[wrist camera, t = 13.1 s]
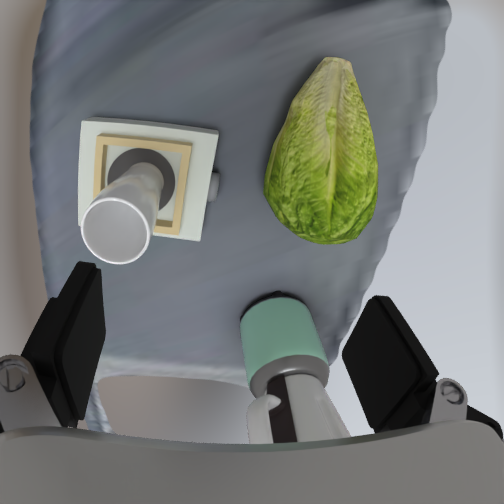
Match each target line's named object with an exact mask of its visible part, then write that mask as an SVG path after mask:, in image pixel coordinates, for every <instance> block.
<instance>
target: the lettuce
mask: <svg viewBox="0 0 504 504" xmlns="http://www.w3.org/2000/svg"><path fill="white" fill-rule="evenodd" d="M263 194H264V196H265V198H266V199H267V201H268V203H269V205H270V207H271V208H272V210H273V212H274V214H275V216H276V217H277V219H278V220H279V221H280V222H281V223H282V224H283V225H284V226H286V227H287V228H288V229H289V230H291V231H292V232H293V233H294V234H296V235H297V236H299V237H300V238H303V239H305V240H307V241H310V242H313V243H318V244H341V243H346V242H348V241H351V240H353V239H356V238H357V237H358V236H359V234H360V233H361V232H362V230H363V229H364V228H365V227H366V225H367V224H368V223H369V221H370V220H371V218H372V216H373V214H374V210H375V205H376V201H377V195H378V162H377V157H376V151H375V145H374V139H373V134H372V130H371V125H370V122H369V118H368V114H367V111H366V108H365V105H364V102H363V99H362V96H361V93H360V90H359V88H358V85H357V82H356V79H355V76H354V73H353V69H352V65H351V63H350V62H349V61H347V60H344V59H341V58H338V57H325V58H324V59H323V60H322V62H321V63H320V64H319V65H318V66H317V68H316V69H315V70H314V72H313V73H312V74H311V76H310V77H309V78H308V80H307V81H306V82H305V83H304V85H303V86H302V88H301V89H300V90H299V92H298V93H297V95H296V96H295V98H294V99H293V100H292V103H291V106H290V109H289V112H288V115H287V118H286V121H285V123H284V125H283V127H282V129H281V131H280V132H279V134H278V136H277V138H276V140H275V142H274V144H273V147H272V151H271V154H270V158H269V162H268V165H267V169H266V173H265V179H264V190H263Z"/></svg>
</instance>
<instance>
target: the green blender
mask: <svg viewBox="0 0 504 504" xmlns="http://www.w3.org/2000/svg"><path fill="white" fill-rule="evenodd" d="M240 334H241V341H242V348H243V355H244V362H245V369H246V376H247V382H248V386H249V389H250V391H251V392H252V394H253V395H254V397H255V398H256V400H254V401H253V402H252V403H251V404H250V405H249V407H248V410H247V429H248V437H249V444H272V443H293V442H308V441H319V440H329V439H338V438H347V437H351V435H350V434H349V432H348V430H347V428H346V426H345V425H344V423H343V421H342V419H341V417H340V415H339V414H338V412H337V410H336V408H335V406H334V405H333V403H332V401H331V399H330V398H329V396H328V394H327V392H326V390H325V389H324V388H325V386H326V385H327V382H328V377H329V365H328V361H327V357H326V354H325V351H324V349H323V346H322V343H321V341H320V338H319V335H318V332H317V330H316V327H315V324H314V322H313V319H312V316H311V314H310V311H309V309H308V308H307V307H306V305H305V304H304V303H302V302H301V301H300V300H298V299H296V298H293V297H290V296H284V295H283V293H282V292H281V291H276V292H274V293H273V295H272V296H270V297H267V298H264V299H261V300H259V301H258V302H256V303H254V304H252V305H251V306H250V307H249V308H248V309H247V310H246V312H245V313H244V315H243V316H241V318H240Z"/></svg>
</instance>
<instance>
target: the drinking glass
mask: <svg viewBox="0 0 504 504" xmlns="http://www.w3.org/2000/svg"><path fill="white" fill-rule="evenodd" d="M163 187H164V178H163V175H162V173H161V171H160V170H159V169H158V168H157V167H156V166H155V165H153V164H151V163H147V162H140V163H137V164H134V165H133V166H131V167H130V168H129V169H128V170H127V171H126V172H125V173H123V174H122V175H121V176H119V177H118V178H117V179H115V180H114V181H113V182H111V183H110V184H109V185H108V186H106V187H105V188H104V189H103V190H102V191H101V192H100V193H99V194H98V195H97V196H96V197H95V198H94V200H93V201H92V202H91V204H90V205H89V206H88V208H87V209H86V211H85V213H84V215H83V217H82V221H81V233H82V237H83V240H84V242H85V244H86V246H87V247H88V249H89V250H90V251H91V252H92V253H93V254H94V255H95V256H96V257H98V258H99V259H101V260H103V261H105V262H108V263H112V264H126V263H130V262H133V261H135V260H136V259H138V258H139V257H140V256H141V255H142V254H143V253H144V252H145V251H146V249H147V247H148V244H149V242H150V240H151V238H152V235H153V232H154V229H155V226H156V222H157V217H158V211H159V204H160V198H161V193H162V190H163Z"/></svg>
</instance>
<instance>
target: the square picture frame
mask: <svg viewBox="0 0 504 504" xmlns="http://www.w3.org/2000/svg"><path fill="white" fill-rule="evenodd" d="M218 136H219V134H218V130H212V129H205V128H199V127H192V126H184V125H177V124H169V123H160V122H151V121H141V120H130V119H118V118H104V117H90V118H88V119H85V120H82V124H81V136H80V151H79V174H78V223H79V226H81V221H82V217H83V215H84V213H85V211H86V209H87V208H88V206H89V205H90V204H91V202H92V201H93V200H94V198H95V197H96V196H97V195H98V194H99V193H100V192H101V191H102V190H103V189H104V188H105V187H106V186H108V185H109V184H110V183H111V182H113V181H114V180H115V179H117V178H118V177H119V176H121V175H122V174H123V173H125V172H126V171H127V170H128V169H129V168H130V167H131V166H133V165H134V164H137V163H140V162H147V163H151V164H153V165H155V166H156V167H157V168H158V169H159V170H160V171H161V173H162V175H163V178H164V187H163V190H162V193H161V198H160V204H159V211H158V217H157V222H156V226H155V229H154V232H153V235H156V236H163V237H171V238H179V239H186V240H194V241H200V238H201V232H202V225H203V219H204V213H205V207H206V201H209V202H215V201H216V197H217V192H218V186H219V179H220V173H214V172H212V167H213V162H214V157H215V151H216V146H217V141H218Z"/></svg>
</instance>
